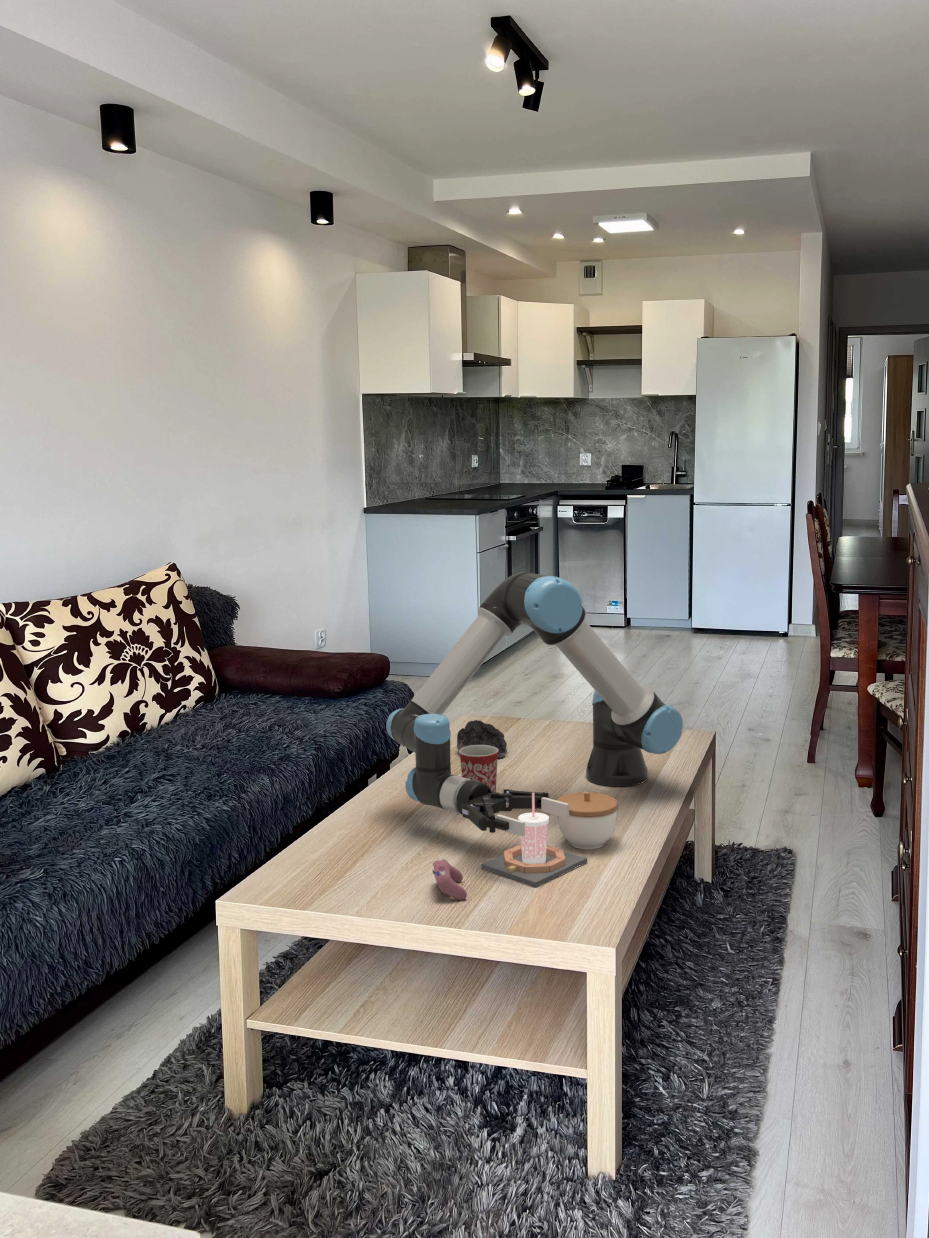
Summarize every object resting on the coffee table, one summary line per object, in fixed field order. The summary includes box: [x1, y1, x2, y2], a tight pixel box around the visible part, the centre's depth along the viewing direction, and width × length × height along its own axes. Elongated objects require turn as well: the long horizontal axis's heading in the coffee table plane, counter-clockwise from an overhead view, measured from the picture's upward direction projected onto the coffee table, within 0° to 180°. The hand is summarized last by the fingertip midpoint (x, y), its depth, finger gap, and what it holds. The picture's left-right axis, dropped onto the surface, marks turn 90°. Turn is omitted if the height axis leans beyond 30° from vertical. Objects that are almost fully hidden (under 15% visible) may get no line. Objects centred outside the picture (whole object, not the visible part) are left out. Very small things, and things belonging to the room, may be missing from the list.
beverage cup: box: [517, 793, 550, 864], centre depth 214 cm, size 6×6×14 cm
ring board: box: [480, 844, 588, 888], centre depth 215 cm, size 16×14×2 cm
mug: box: [458, 745, 499, 792], centre depth 252 cm, size 13×9×14 cm
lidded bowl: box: [556, 791, 619, 850], centre depth 226 cm, size 13×13×11 cm
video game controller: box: [432, 857, 468, 901], centre depth 204 cm, size 10×5×7 cm, turn 5°
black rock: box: [456, 719, 508, 759], centre depth 292 cm, size 13×14×10 cm
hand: (546, 819), depth 212 cm, fingers open, 13 cm apart
